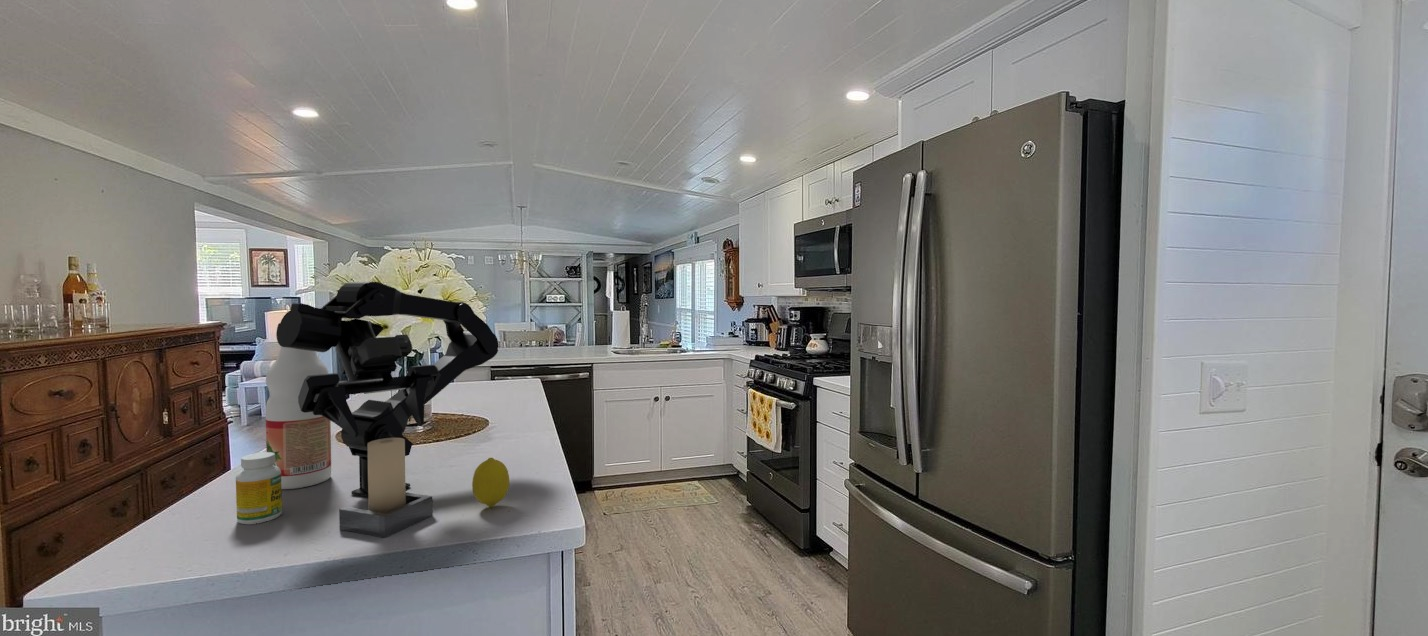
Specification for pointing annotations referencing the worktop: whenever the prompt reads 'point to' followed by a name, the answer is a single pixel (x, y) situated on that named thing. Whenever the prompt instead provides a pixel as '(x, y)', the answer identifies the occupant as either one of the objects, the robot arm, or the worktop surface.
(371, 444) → the paper roll
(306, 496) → the worktop surface
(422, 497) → the holder
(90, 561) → the worktop surface
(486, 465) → the lemon
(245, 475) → the supplement bottle
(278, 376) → the fruit juice
